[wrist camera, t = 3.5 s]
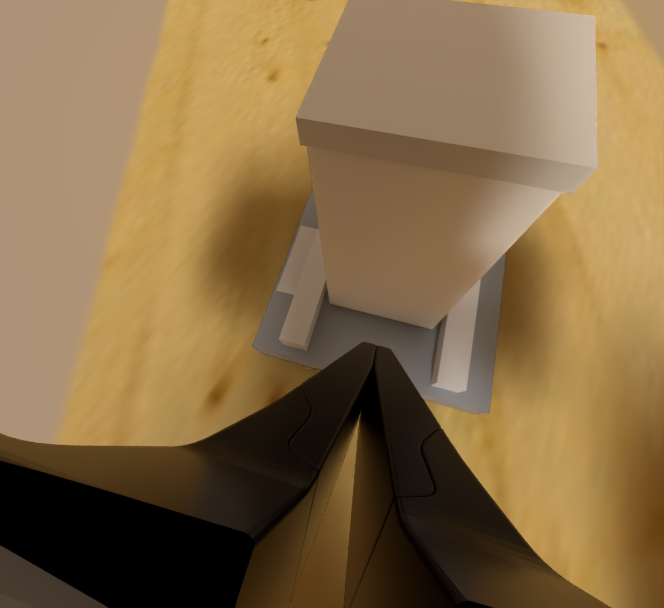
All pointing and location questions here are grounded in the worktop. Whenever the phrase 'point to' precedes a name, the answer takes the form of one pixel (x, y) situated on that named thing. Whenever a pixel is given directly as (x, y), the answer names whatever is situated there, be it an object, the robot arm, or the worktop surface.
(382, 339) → the switch base
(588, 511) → the worktop surface
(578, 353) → the worktop surface
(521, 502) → the worktop surface
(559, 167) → the slider tab
